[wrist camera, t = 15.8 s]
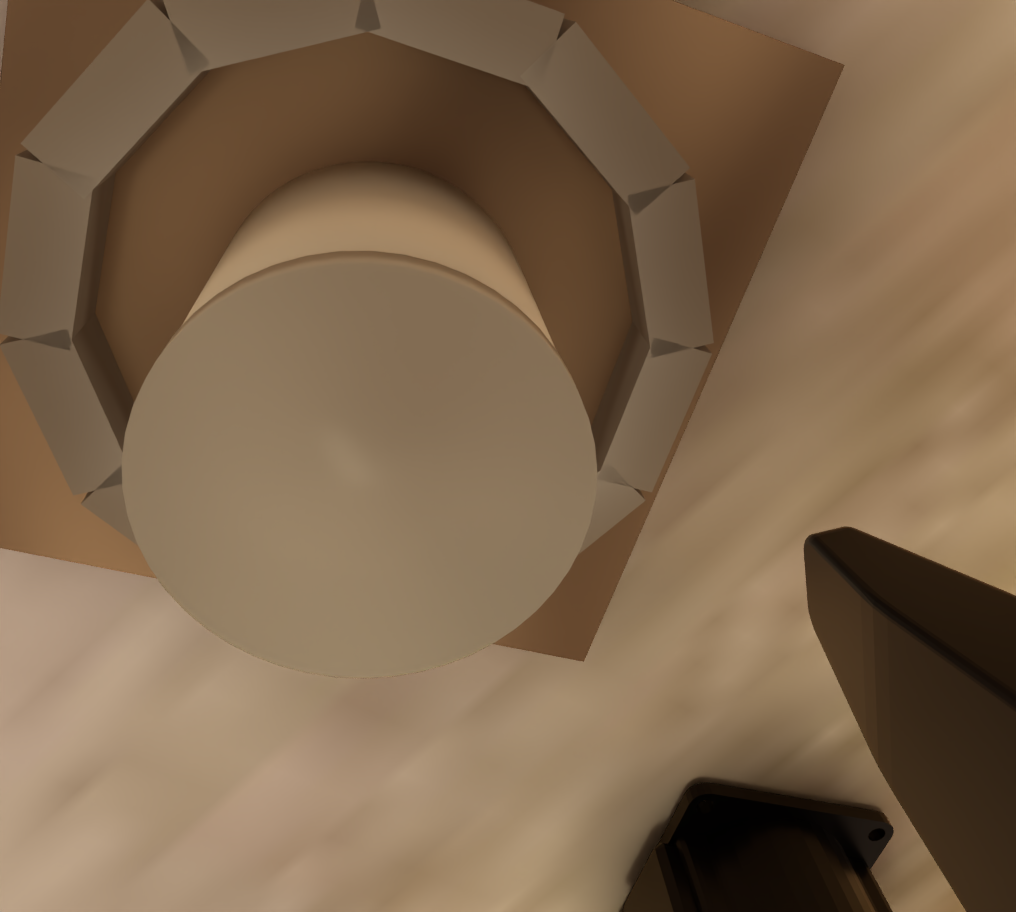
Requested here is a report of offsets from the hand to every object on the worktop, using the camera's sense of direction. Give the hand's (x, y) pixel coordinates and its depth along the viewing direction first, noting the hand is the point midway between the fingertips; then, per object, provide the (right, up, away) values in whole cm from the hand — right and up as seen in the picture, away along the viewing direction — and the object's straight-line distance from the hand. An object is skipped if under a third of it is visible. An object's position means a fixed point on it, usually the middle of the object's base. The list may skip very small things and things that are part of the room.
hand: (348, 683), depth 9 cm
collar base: (-1, +5, +11) cm, 12 cm away
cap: (-1, +5, +10) cm, 11 cm away
